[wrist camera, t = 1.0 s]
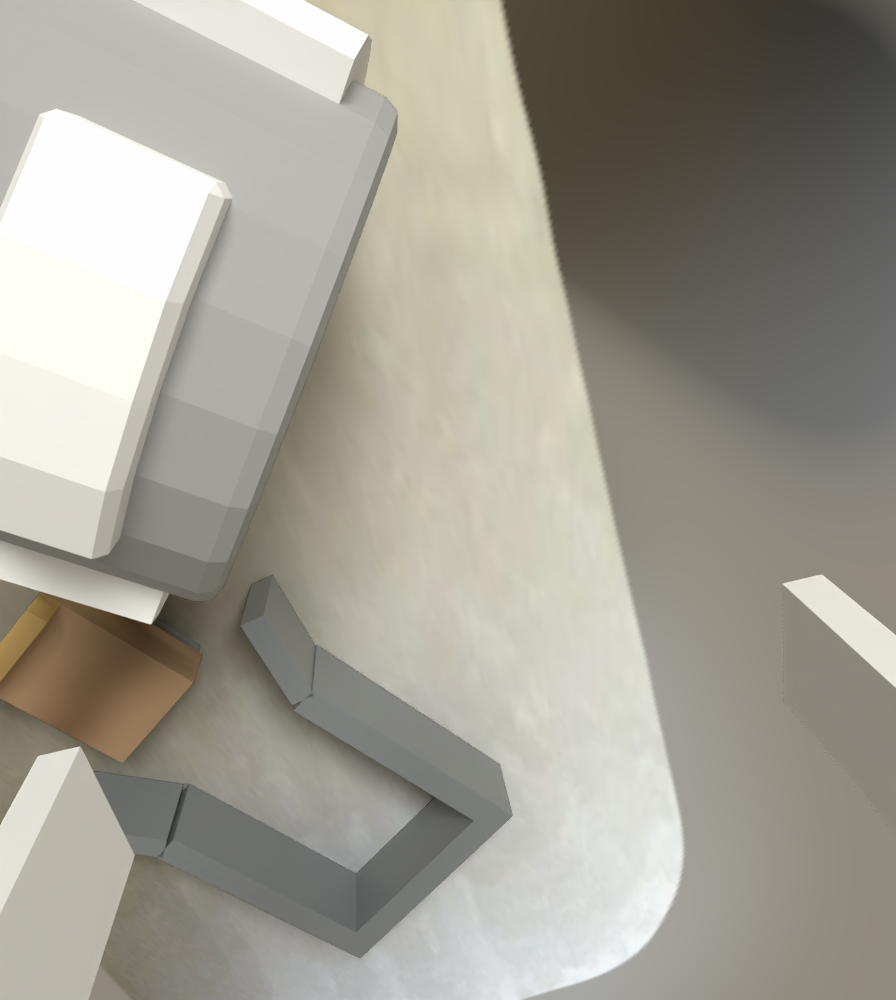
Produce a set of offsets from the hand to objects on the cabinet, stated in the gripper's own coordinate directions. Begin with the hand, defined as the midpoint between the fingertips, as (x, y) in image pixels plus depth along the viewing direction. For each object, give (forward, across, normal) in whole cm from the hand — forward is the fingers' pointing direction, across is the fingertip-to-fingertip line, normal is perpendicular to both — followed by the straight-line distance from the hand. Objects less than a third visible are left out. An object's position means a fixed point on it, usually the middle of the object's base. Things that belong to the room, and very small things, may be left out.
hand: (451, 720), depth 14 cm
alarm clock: (+24, -6, +7) cm, 25 cm away
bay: (+23, -9, -20) cm, 32 cm away
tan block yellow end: (+23, -17, -10) cm, 30 cm away
